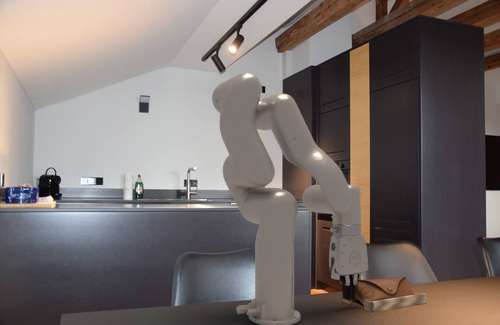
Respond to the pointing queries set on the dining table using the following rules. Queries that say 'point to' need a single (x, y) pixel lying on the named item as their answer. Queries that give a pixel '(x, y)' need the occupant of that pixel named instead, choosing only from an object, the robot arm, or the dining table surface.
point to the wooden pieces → (391, 302)
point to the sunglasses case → (382, 289)
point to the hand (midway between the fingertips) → (348, 299)
